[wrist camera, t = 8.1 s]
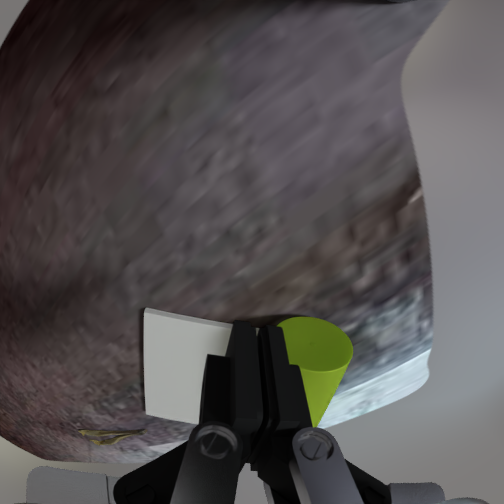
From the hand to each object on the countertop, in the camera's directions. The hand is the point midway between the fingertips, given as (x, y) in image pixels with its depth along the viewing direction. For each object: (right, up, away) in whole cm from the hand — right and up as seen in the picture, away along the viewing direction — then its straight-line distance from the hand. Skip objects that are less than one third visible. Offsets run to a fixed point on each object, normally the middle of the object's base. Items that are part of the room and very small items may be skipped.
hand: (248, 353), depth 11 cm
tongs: (-19, -20, +23) cm, 36 cm away
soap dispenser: (+5, -3, +9) cm, 11 cm away
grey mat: (-3, -9, +17) cm, 19 cm away
